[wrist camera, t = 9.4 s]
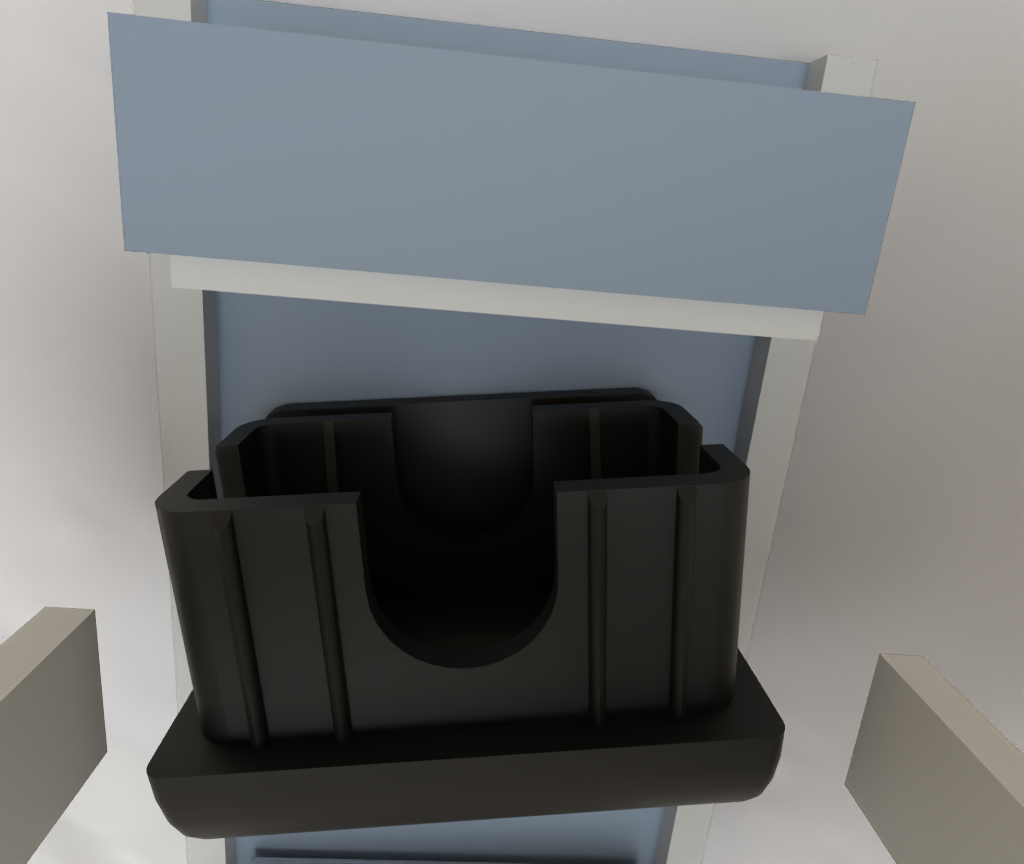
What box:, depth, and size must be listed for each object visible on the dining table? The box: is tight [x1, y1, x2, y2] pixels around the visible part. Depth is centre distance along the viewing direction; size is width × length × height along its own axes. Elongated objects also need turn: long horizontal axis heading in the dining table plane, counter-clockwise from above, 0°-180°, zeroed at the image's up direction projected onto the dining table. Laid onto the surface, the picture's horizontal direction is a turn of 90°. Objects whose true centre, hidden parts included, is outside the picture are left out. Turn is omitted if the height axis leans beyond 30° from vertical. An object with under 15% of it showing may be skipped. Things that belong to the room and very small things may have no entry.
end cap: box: [147, 387, 785, 839], centre depth 14 cm, size 10×7×7 cm
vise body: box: [107, 0, 915, 864], centre depth 16 cm, size 14×26×6 cm, turn 175°
